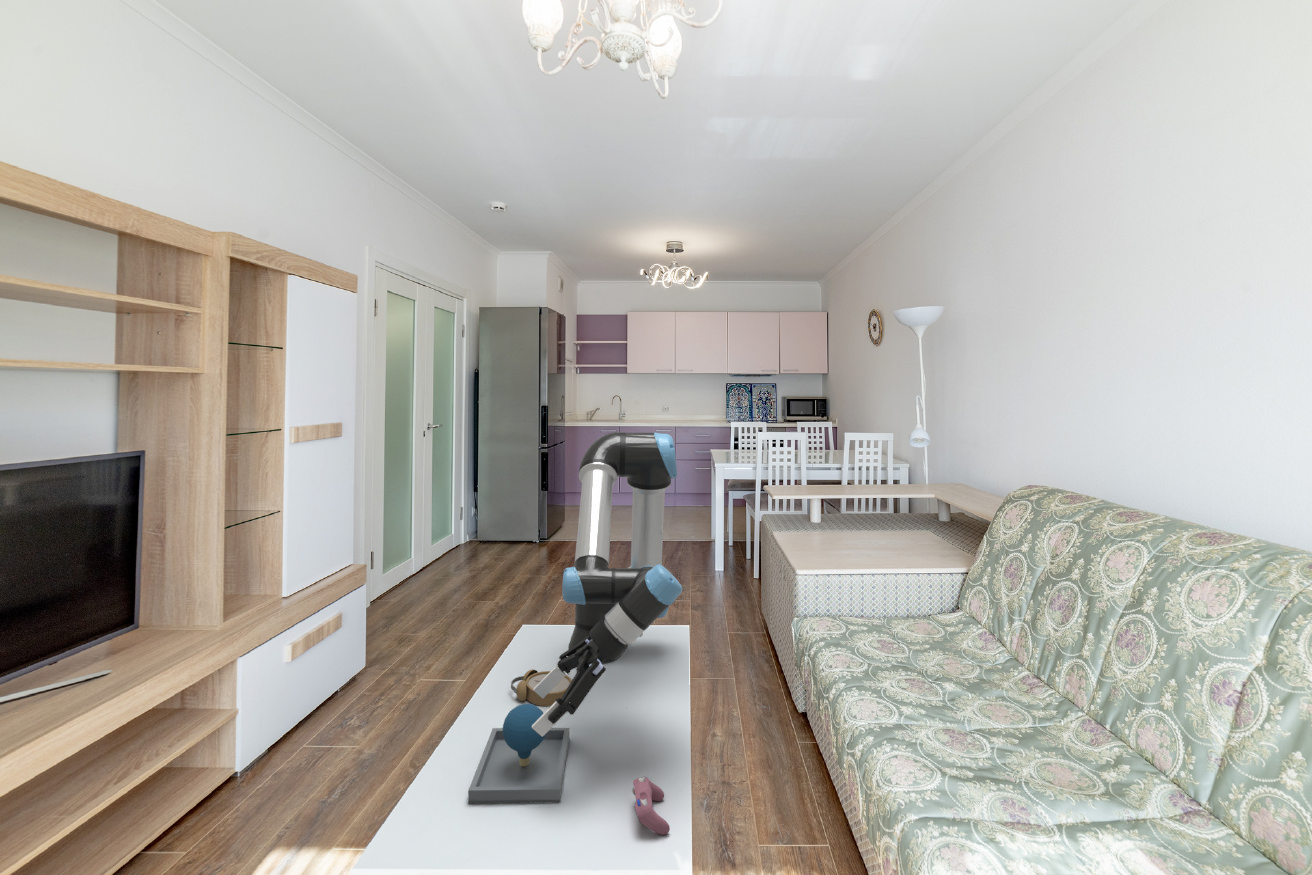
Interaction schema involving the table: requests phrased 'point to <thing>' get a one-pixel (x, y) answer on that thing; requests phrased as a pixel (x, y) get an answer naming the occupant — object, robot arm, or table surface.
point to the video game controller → (649, 805)
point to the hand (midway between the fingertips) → (537, 711)
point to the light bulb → (522, 731)
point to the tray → (520, 771)
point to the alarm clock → (532, 681)
